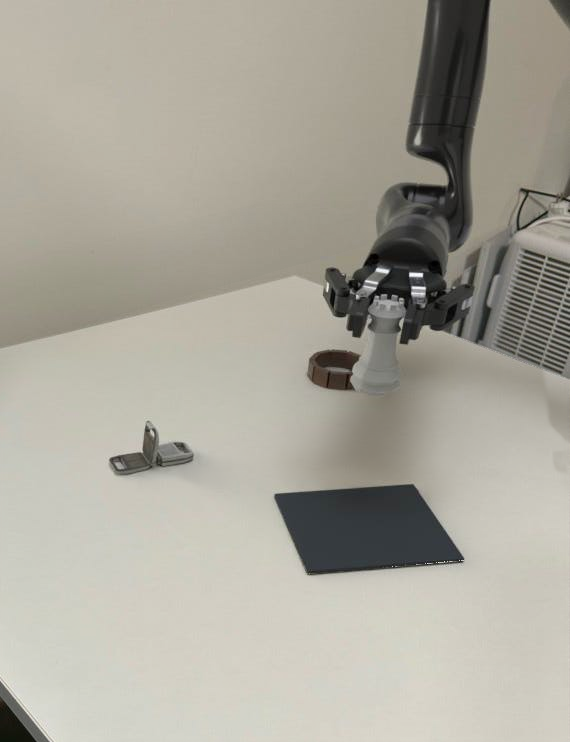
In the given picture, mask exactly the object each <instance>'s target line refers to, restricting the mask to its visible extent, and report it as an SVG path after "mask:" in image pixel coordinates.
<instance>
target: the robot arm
mask: <svg viewBox="0 0 570 742" xmlns="http://www.w3.org/2000/svg"><path fill="white" fill-rule="evenodd" d="M491 2H492V0H427V3H426V11H425V20H424V26H423V32H422V33H423V34H422V40H421V48H420V53H419V59H418V64H417V65H418V66H417V71H416V76H415V82H414V89H413V94H412V99H411V100H412V101H411V105H410V111H409V115H408V116H409V117H408V124H407V129H406V133H405V134H406V135H405V143H404V146H405V147H404V148H405V151H406V153H407V154H408V155H410V156H411V157H413V158H416V159H419V160H422V161H426V162H430V163H433V164H435V165H437V166H439V167H440V168H441V169H443V171H444V172H445V175H446V181H447V182H446V184H435V183H425V182H424V183H423V182H419V183H418V182H409V181H404V182H403V181H402V182H397V183H394V184H392V185H391V186H389V187H388V188H387V189H386V190H384V192H383V194H382V196H381V198H380V200H379V202H378V205H377V210H376V215H375V229H376V235H377V237H376V238H375V240H374V243H373V245H372V247H371V248H370V250H369V252H368V255H367V257H366V259H365V261H364V262H363V265H362V267H360V268H358V269H356V270H355V271H354V272H353V273H352V275H347V273H346V272H341V271H340V269H339V268H336V267H333V266H332V267H326V268H325V274H324V282H323V288H322V296H323V298H324V301H325V302H326V304H327V306H328V308H329V310H330V312H331V314H332V316H333V317H335V318H340V319H341V318H347V320H346V326H345V329H346V331H347V332H351V337H352V338H357V339H361V338H362V335H363V334H364V330H365V328H366V326H367V325H368V324H367V323H368V320H369V319H370V320H372V318H371V316H370V314H369V312H368V307H369V306H370V305H371V304H372V303H373V302H374V297H376V296H379V300H380V298H381V295H382V294H387V300H391V298H392V295H395V296H398V299H397V302H399V298H403V299H404V307H405V309H406V314H405V316H404V317H403V318H402V319H403V322H402V327H401V331H400V338H399V344H400V345H406V346H408V345H409V343H410V340H411V341H417V340H418V339H419V337H420V335H421V331H422V330H423V327H425V326H429V329H430V330H432V331H434V332H442V331H444V330H446V329H448V328H449V327H451V326H453V324H455V323H457V322H458V321H460V320H462V319H463V318H464V317H466V316H468V315H469V313H470V310H471V305H472V303H473V297H474V292H475V288H476V287H475V285H473V284H470V283H462V284H460V285H459V286H456V285H452V286H450V287H448V285H447V281H446V280H445V279H444V278H445V276H446V274H447V267H448V262H449V254H450V253H454V252H457V251H458V250H459V249H461V248H462V246H464V244H465V243H466V242H467V241H468V239H469V237H470V235H471V233H472V231H473V230H472V229H473V225H474V203H473V202H474V200H473V190H472V189H473V188H472V170H471V169H472V167H471V166H472V153H473V152H472V150H473V143H474V137H475V136H474V135H475V130H476V126H477V122H478V121H477V120H478V115H479V111H480V106H481V101H482V96H483V91H484V87H485V86H484V85H485V79H486V74H487V73H486V72H487V63H488V52H489V32H490V14H491V13H490V12H491ZM548 2H549V4H550V5H551V7H552V9H554V11H555V13H556V14H557V15H558V17H559V19H560V20H561V21H562V22H563V24H564V25H565V26H566V28H567V29H568V31H570V0H548ZM351 292H352V293H351Z"/></svg>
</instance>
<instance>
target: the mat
mask: <svg viewBox="0 0 570 742" xmlns="http://www.w3.org/2000/svg"><path fill="white" fill-rule="evenodd" d="M273 497H274V500H275V502H276V504H277V507H278V509H279V511H280V514H281V516H282V518H283V520H284V522H285V525H286V528H287V531H288V532H289V535H290V537H291V536H292V537H291V539H292V541H293V544H294V543H295V544H294V546H295V548H296V550H298V551H297V553H298V555H299V557H300V560H301V559H302V560H301V562H302V565H303V567H304V566H305V567H304V569H305V568H306V569H305V571H306V570H307V571H306V574H307V573H310V574H309V575H312V574H311V573H320V574H324V573H323V572H326V573H325V574H328V573H327V572H332V573H339V572H338V571H344V572H354V571H355V570H357V571H366V569H367V570H368V569H369V570H379V569H378V568H381V569H386V568H385V567H392V566H393V567H394V568H396V567H395V566H405V565H406V567H408V566H407V565H416V564H425V563H426V564H427V563H436V562H437V563H438V562H444V561H445V562H447V561H448V562H449V561H459V560H460V561H461V560H464V561H465V557H464V556H463V554H462V552H461V551H460V550H459V548H458V547H457V546H456V544H455V542H454V541H453V539H452V538H451V537H450V536H449V534H448V532H447V531H446V529H445V528H444V526H443V525H442V523H441V522H440V521H439V519H438V517H437V516H436V515H435V513H434V512H433V511H432V509H431V508H430V506H429V505H428V503H427V502H426V501H425V499H424V497H423V496H422V494H421V493H420V492H419V490H418V489H417V487H416V485H415V484H414V483H409V484H408V483H407V484H394V485H379V486H377V485H376V486H365V487H363V486H362V487H350V488H338V489H321V490H308V491H293V492H278V493H274V496H273ZM383 567H384V568H383ZM375 568H377V569H375ZM362 569H363V570H362ZM352 570H353V571H352ZM355 572H356V571H355Z"/></svg>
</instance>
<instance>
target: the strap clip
mask: <svg viewBox="0 0 570 742" xmlns="http://www.w3.org/2000/svg"><path fill="white" fill-rule="evenodd" d="M151 431H152V432H153V434H154V435H153V434H151ZM143 432H144V433H143V439H142V440H143V441H142V448H141V449H142V452H141V451H138V452H132V453H124V454H117V455H115V456H111V457H109V459H108V461H109V464H110V465H111V467H112V468H113V470H114V472H115V473H116V474H133V473H136V472H142V471H145V470H149V469H150V467H152V465H154V463H157V464H158V465H161V466H162V467H166V466H172V465H179V464H186V462H189V461H192V460H194V456H195V455H194V451H193V450H192V448H190V447H189V445H188V444H187V442H185V441H170V442H165V443H160V436H159V431H158V429H157V427H156V426H155V425H154V424H153V423H152V421H151V420H147V421H145V427H144V431H143ZM180 450H183V451H184V452H183V453H182V452H181V451H180ZM115 462H122V464H123V466H124V467H125V468H118V466H117V465H116V463H115Z"/></svg>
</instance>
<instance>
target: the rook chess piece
mask: <svg viewBox="0 0 570 742" xmlns="http://www.w3.org/2000/svg"><path fill="white" fill-rule="evenodd" d="M397 299H398V296H395V295H392V298H391V300H387V294H382V295H381V298H380V300H379V296H376V297H374V302H373V303H372V304H371V305H370V306H369V307H368V312H369V314H370V316H371V318H372V319H371V321H370V322H369V323H368V324H367V329H368V331H369V332H368V337H367V340H366V344H365V347H364V350H363V352H362V353H361V355H362V356H360V357H359V361H358V362H357V363H355V364H354V366H353V370H351V371H352V372H353V375H352V376H351V378H350V382H351V383H352V385H353V387H354V388H353V389H355V391H357V392H359V393H361V394H363V395H366V396H373V397H387V396H389V395H392V394H393V393H395V392H396V391H397V390H398V389H399V388H400V387H401V381H400V380H399V379H401V378H402V368H401V367H400V366H399V360H398V359H397V358H398V357H397V340H398V334H399V333H401V331H402V327H401V326H400V322H401V320H403V319H404V318H403V317H404V316H405V314H406V309H405V307H404V299H403V298H399V302H397Z"/></svg>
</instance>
